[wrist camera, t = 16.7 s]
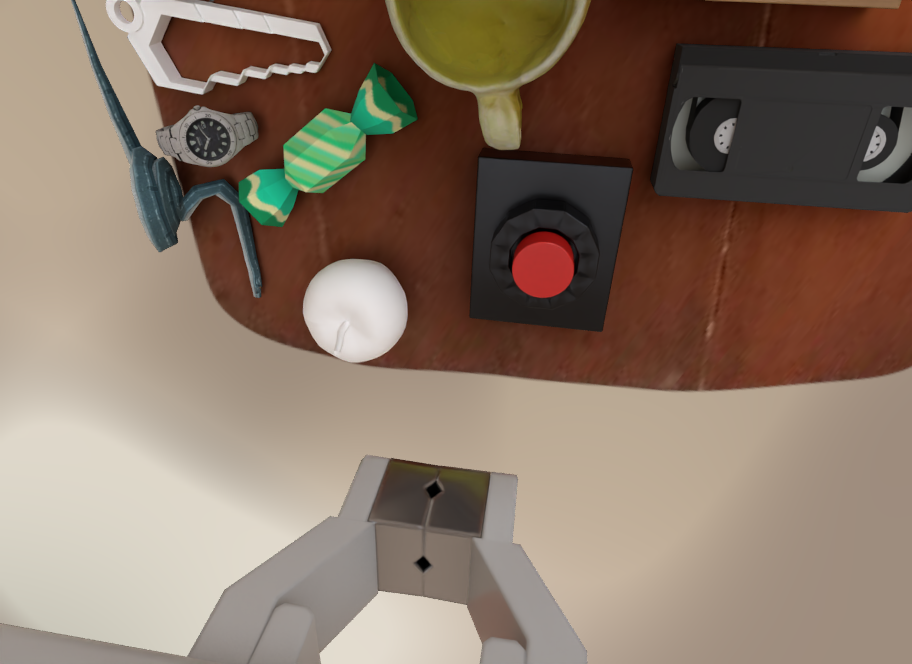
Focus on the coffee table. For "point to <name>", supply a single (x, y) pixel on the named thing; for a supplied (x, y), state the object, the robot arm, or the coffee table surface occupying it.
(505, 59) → the mug
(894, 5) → the base
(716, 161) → the vhs tape
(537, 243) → the button
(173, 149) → the wristwatch
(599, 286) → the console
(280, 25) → the key shaped keychain
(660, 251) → the coffee table surface
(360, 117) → the candy
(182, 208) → the stylized snake
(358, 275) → the plain white apple
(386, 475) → the robot arm
